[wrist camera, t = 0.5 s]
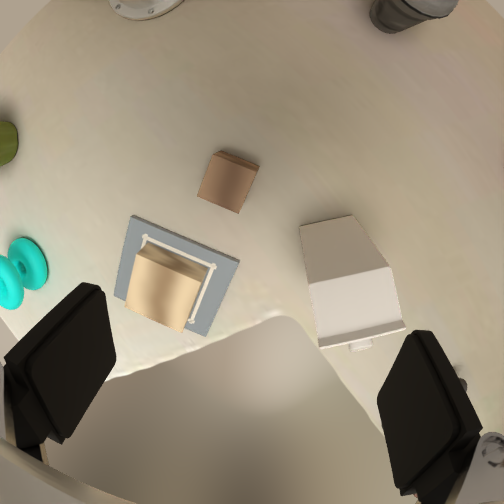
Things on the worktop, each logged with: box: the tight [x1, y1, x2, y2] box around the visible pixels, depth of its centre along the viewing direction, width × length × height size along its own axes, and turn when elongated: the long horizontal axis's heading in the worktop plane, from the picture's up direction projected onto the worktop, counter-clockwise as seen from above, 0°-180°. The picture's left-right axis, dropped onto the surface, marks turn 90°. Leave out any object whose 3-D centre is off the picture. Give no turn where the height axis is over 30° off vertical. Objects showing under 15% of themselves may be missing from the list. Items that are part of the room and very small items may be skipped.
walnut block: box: [197, 151, 259, 214], centre depth 35 cm, size 5×5×5 cm
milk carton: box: [299, 215, 406, 352], centre depth 30 cm, size 7×7×19 cm
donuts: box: [0, 238, 47, 310], centre depth 40 cm, size 10×10×10 cm
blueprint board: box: [114, 215, 240, 337], centre depth 43 cm, size 16×14×1 cm
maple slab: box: [125, 242, 208, 333], centre depth 41 cm, size 9×9×4 cm
